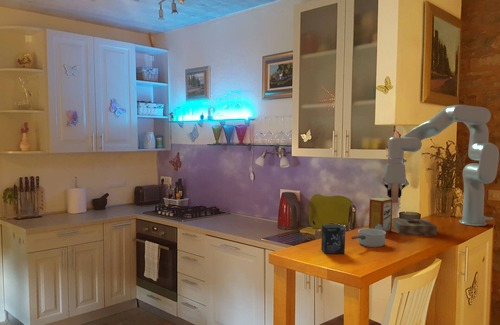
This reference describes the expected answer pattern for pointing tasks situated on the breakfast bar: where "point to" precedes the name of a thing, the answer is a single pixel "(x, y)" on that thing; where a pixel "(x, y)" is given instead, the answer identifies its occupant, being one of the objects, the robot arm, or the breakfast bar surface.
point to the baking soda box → (380, 212)
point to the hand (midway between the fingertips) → (394, 197)
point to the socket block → (414, 227)
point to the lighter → (384, 226)
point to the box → (333, 239)
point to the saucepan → (371, 237)
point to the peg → (394, 192)
